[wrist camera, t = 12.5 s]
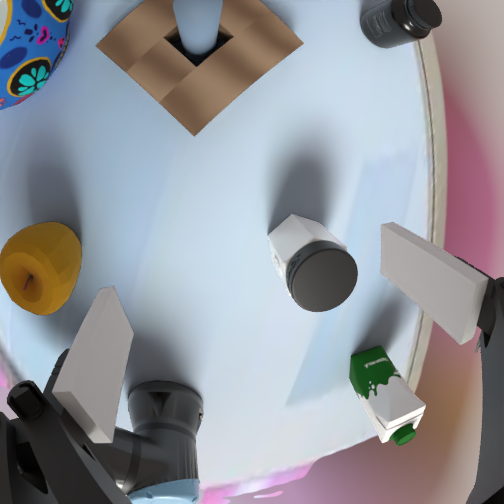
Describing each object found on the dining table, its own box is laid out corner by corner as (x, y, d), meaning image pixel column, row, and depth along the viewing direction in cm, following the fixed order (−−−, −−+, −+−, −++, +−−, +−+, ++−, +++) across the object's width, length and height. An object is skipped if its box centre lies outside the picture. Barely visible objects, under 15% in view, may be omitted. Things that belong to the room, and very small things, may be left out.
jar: (262, 220, 42) (284, 255, 31) (318, 207, 42) (356, 237, 31) (273, 276, 46) (295, 323, 35) (324, 262, 46) (358, 304, 35)
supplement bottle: (395, 55, 34) (447, 44, 24) (356, 39, 33) (405, 19, 22) (398, 20, 32) (447, 3, 21) (361, 3, 30) (406, -23, 20)
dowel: (198, 66, 32) (195, 31, 19) (177, 47, 31) (162, 4, 17) (222, 47, 32) (233, 3, 18) (200, 27, 30) (200, -23, 16)
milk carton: (345, 382, 59) (382, 454, 41) (346, 353, 55) (392, 431, 37) (380, 369, 59) (423, 435, 41) (385, 340, 56) (436, 409, 38)
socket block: (195, 135, 36) (194, 136, 31) (107, 54, 29) (95, 45, 25) (292, 52, 33) (303, 43, 29) (204, -26, 26) (205, -43, 22)
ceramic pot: (67, 115, 31) (5, 116, 18) (-19, 110, 27) (-84, 116, 13) (106, -1, 26) (67, -48, 12) (12, 6, 21) (-41, -18, 8)
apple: (24, 252, 37) (-18, 293, 26) (48, 194, 35) (-1, 223, 23) (77, 290, 41) (47, 341, 30) (106, 236, 39) (74, 279, 27)
